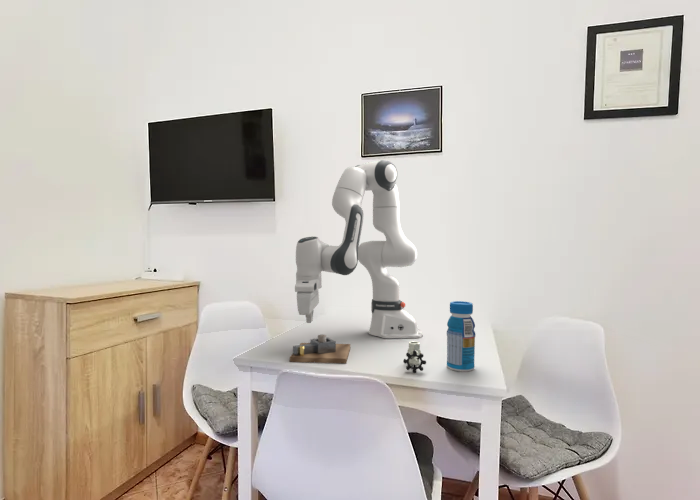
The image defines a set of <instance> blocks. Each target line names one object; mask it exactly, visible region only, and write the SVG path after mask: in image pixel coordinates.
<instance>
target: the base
mask: <svg viewBox="0 0 700 500" xmlns="http://www.w3.org/2000/svg"><path fill="white" fill-rule="evenodd" d="M326 337H327V334H318V335H317V339H318V342H319V343H321V342H326ZM304 344H310V342H301V343H299V345H304ZM350 351H351V343H336V352H332V353H325V354H317V353H311V354H304V356H300V355H297V356H295V355H294V354H293V353H292V354H291V355H290V356H289V362H292V363H314V362H315V363H316V364H317V363H318V364H319V363H321V364H322V363H325V364H347V362H348V358H349V356H350ZM315 363H314V364H315Z"/></svg>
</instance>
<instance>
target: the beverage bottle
mask: <svg viewBox="0 0 700 500" xmlns="http://www.w3.org/2000/svg"><path fill="white" fill-rule="evenodd" d="M473 305H474V304H473V303H472V302H470V301H462V300H461V301H460V300H459V301H458V300H455V301H454V300H453V301H450V302H449V313H450V314H451V315H450V316H449V318H448V320H447V324H446V325H447V330H446V367H447V368H448V369H449V370H452V371H454V372H461V373H462V372H463V373H464V372H472V371H473V370H475V354H476V353H475V351H476V350H475V347H476V345H475V344H476V331H475V327H476V324H475V321H474V319H473V318H472V316H471V315H473V310H474V306H473Z"/></svg>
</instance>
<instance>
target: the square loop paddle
mask: <svg viewBox="0 0 700 500" xmlns="http://www.w3.org/2000/svg"><path fill="white" fill-rule="evenodd" d="M309 341H310V342H309V343H310V344H304V345H300V344H298V345H292V354H294V355H295V356H297V355H300V346H304V354H311V353H317V354H325V353H332V352H336V344H337V343H336V340H334V339H331V338H329V337H327V336H326V342H321V343H319V342H318V338H312V339H311V338H310V340H309Z"/></svg>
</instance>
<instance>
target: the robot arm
mask: <svg viewBox="0 0 700 500" xmlns="http://www.w3.org/2000/svg"><path fill="white" fill-rule="evenodd" d="M397 180H398V170H397V167H396V165H395V163H393V162H392V161H390V160H386V159H385V160H384V159H382V160H375V161H369V162H368V161H367V162H366V163H362V164H357V165H356V166H349V167H347V168H345V169H344V171H343V173H342V174H341V176H340V178H339V180H338V182H337V183H336V184H337V185H336V187H335V190H334V192H333V196H332V200H331V205H332V208H333V210H334V212H335V213H336V214H338V215H339V216H340V217H341V218H343V219H344V220H345V227H344V231H343V236H342V241H341V243H340V244H339V245H329V244H327V243H325V242H323V241H322V240H320V238H319V237H318V236H307V237H303V238H300V239H299V240H297V242H296V247H295V264H296V273H295V285H294V292H295V293H296V304H297V305H296V306H297V312H298V314H299V315H300V316H305V318H306V319H305V321H306V323H307V324H311V323H312V322H313V320H314V311H315V310H314V309H315V308H316V307H317V306H318V305H319V303H320V298H319V296H320V295H319V293H320V292H319V289H321V288H322V272H326V273H333V274H338V275H341V276H349V275H351V274H352V273H353V272H354V271H355V270H356V268H357V266H358V263H360V264H361V265H362V266H363V267H364V268H365V269H366V270H367V272H368V274H369V275H370V280H371V284H372V285H371V287H372V299H371V306H370V308H371V318H370V319H371V321H370V325H369V326H370V327H369V329H368V334H369V335H371V336H375V337H379V338H382V339H419V338H422V337H423V335H424V333H423V331H422V330H421V329H419V328H418V323H417V320H416V318H414V316H413V315H411V314H410V313H409V312H408V311H407V310H405V307H406V303H405V302H404V301H403V300H401V299H400V282H399V281H398V279H397V278H396V277H394V276H393V275H391V274H389V271H388V270H387V268H404V267H405V268H406V267H410V266H413V265H414V264H415V261H416V260H417V257H418V251H417V248H416V246H415V245H414V243H413V242H412V241H410V240H409V239H408V238H407V237H406V236H405V233H404V231H403V230H402V227H401V221H400V218H401V217H400V197H399V190H398V186H397V184H396V183H397ZM365 191H371V193H372V195H373V196H372V197H373V198H372V225H373V227H374V229H375V230H377V231H378V232H380V233H382V234H383V235H384V236H385V240H369V241H364V242H361V243H360V240H361V234H362V229H363V223H364V210H363V208H362V204H363V199H364V195H365Z"/></svg>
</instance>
